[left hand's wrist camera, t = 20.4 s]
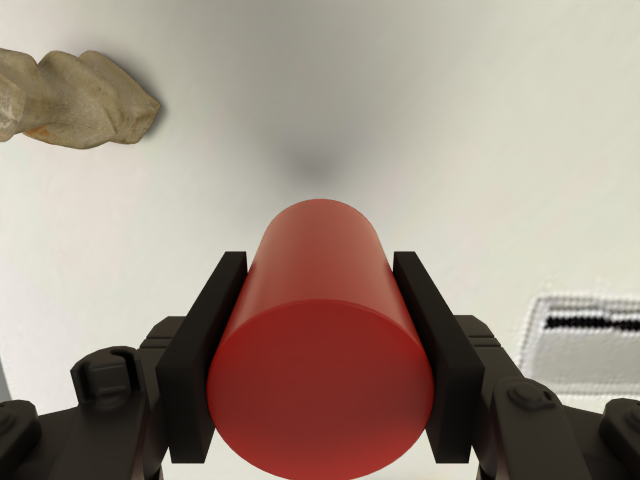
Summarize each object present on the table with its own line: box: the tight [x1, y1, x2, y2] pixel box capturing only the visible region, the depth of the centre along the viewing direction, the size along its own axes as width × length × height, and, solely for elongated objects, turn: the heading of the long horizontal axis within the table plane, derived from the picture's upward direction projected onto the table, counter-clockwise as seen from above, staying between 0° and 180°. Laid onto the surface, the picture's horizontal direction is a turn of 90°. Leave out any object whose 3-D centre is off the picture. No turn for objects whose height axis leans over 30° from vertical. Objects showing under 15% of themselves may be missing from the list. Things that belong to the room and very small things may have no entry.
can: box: [206, 199, 435, 480], centre depth 13 cm, size 5×5×9 cm
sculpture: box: [0, 48, 160, 149], centre depth 26 cm, size 6×7×15 cm
